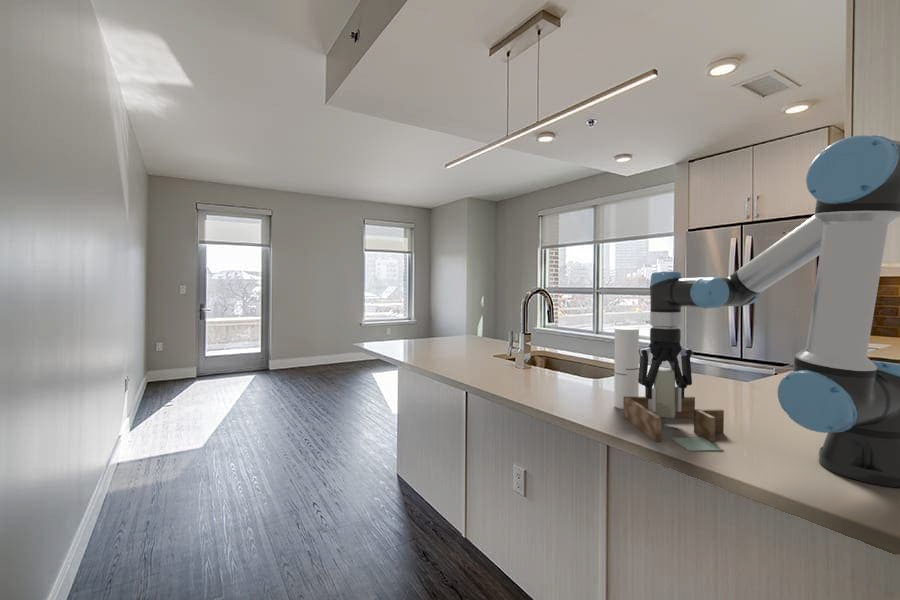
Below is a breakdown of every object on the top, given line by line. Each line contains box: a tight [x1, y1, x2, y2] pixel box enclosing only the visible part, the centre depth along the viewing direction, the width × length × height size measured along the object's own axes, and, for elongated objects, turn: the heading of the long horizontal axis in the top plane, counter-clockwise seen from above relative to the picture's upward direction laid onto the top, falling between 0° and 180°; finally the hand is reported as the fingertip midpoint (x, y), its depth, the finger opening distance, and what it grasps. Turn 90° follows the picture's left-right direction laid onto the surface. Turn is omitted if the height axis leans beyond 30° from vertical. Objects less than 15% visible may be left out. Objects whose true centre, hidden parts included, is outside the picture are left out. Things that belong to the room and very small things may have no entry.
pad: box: [670, 437, 724, 452], centre depth 102 cm, size 8×8×1 cm
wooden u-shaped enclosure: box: [623, 395, 725, 443], centre depth 114 cm, size 20×20×6 cm
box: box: [653, 367, 676, 419], centre depth 117 cm, size 5×4×13 cm
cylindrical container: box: [613, 327, 640, 410], centre depth 135 cm, size 7×7×25 cm
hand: (664, 410), depth 117 cm, fingers closed on box, 6 cm apart
